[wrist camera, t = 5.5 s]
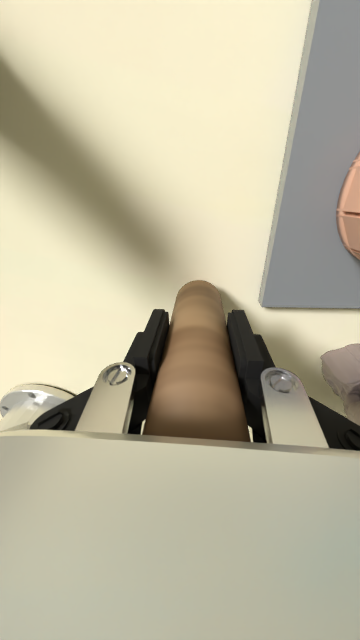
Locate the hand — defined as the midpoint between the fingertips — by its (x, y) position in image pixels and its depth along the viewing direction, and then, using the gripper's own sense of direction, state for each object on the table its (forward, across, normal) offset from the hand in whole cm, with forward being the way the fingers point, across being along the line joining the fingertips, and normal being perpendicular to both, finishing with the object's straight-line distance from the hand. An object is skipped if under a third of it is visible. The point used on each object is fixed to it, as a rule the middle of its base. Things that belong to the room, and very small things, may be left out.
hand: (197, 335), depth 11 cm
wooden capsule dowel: (+4, 0, 0) cm, 4 cm away
